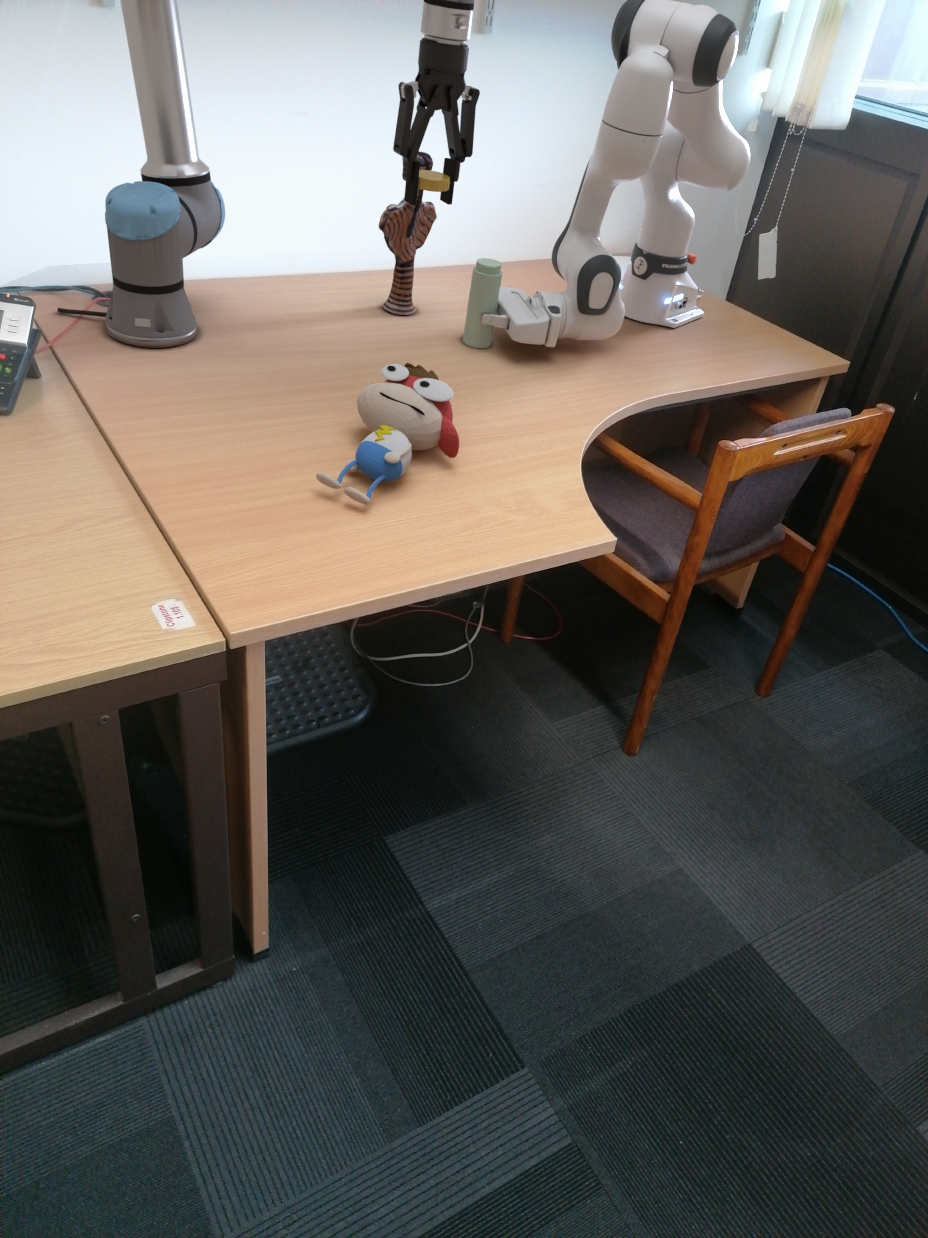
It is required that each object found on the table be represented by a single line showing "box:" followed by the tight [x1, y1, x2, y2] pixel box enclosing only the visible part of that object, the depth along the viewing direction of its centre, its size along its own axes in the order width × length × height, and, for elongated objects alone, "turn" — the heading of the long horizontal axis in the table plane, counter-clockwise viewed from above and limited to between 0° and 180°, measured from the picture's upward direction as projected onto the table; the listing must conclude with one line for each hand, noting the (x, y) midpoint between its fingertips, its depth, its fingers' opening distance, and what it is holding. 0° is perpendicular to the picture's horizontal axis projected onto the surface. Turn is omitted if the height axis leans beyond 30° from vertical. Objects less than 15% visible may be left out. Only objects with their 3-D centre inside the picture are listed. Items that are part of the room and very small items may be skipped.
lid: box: [418, 170, 450, 193], centre depth 146 cm, size 6×6×2 cm
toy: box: [315, 362, 460, 505], centre depth 132 cm, size 18×10×30 cm
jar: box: [462, 257, 503, 349], centre depth 171 cm, size 6×6×16 cm
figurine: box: [378, 151, 438, 316], centre depth 174 cm, size 15×8×30 cm, turn 144°
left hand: (428, 201), depth 148 cm, fingers closed on lid, 6 cm apart
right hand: (477, 311), depth 172 cm, fingers closed on jar, 5 cm apart
